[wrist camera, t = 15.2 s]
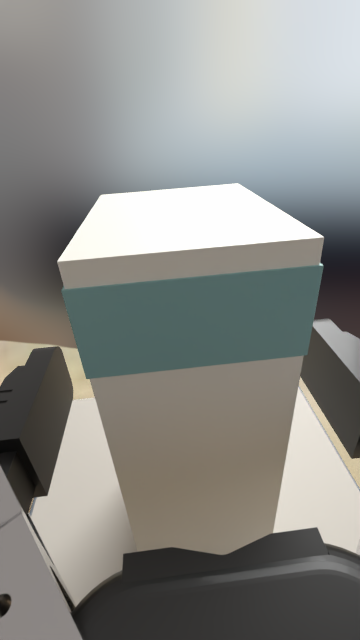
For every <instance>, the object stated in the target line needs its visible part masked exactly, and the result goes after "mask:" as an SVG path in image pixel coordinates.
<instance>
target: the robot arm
mask: <svg viewBox="0 0 360 640" xmlns="http://www.w3.org/2000/svg"><path fill="white" fill-rule="evenodd" d="M300 376H301V378H302V380H303V381H304V383H305V384H306V386H307V388H308V389H309V391H310V392H311V394H312V396H313V397H314V399H315V401H316V402H317V404H318V405H319V407H320V409H321V410H322V412H323V413H324V415H325V417H326V418H327V420H328V421H329V423H330V425H331V426H332V428H333V429H334V431H335V433H336V434H337V436H338V437H339V439H340V441H341V442H342V444H343V446H344V447H345V449H346V450H347V452H348V454H349V455H350V457H351V458H352V459H353V458H360V339H359V338H357V337H355V336H353V335H351V334H349V333H348V332H342V331H341V330H340V329H339V328H338V327H337V326H336V325H335V324H334V323H333V322H332V321H331V320H330V319H321V320H314V321H313V326H312V332H311V337H310V343H309V348H308V354H307V355H304V357H303V362H302V368H301V374H300ZM72 400H73V386H72V381H71V378H70V375H69V372H68V368H67V365H66V362H65V359H64V356H63V353H62V350H61V348H60V347H58V346H57V347H47V348H38V349H33V351H32V352H31V354H30V356H29V358H28V360H27V362H26V364H25V366H18V367H17V368H15V369H14V370H13V371H12V372H11V373H10V374H9V375H8V376H7V377H6V378H5V379H4V381H3V383H2V384H1V386H0V640H360V539H359V543H358V546H357V550H356V553H354V552H351V551H349V550H347V549H344V548H342V547H338V546H335V545H331V544H327V543H324V542H323V539H322V537H321V535H320V532H319V530H318V528H317V527H315V528H307V529H300V530H293V531H285V532H278V533H271V534H269V535H266V536H264V537H262V538H260V539H258V540H256V541H254V542H252V543H250V544H248V545H245V546H243V547H241V548H239V549H237V550H235V551H233V552H231V553H228V554H225V555H218V554H212V553H206V552H200V551H193V550H187V549H181V548H175V547H168V548H161V549H154V550H147V551H139V552H132V553H125V554H123V567H122V570H121V571H119V572H117V573H115V574H113V575H112V576H110V577H108V578H107V579H105V580H104V581H102V582H101V583H100V584H98V585H97V586H96V587H95V588H94V589H92V590H91V591H90V592H89V593H88V594H87V595H86V596H85V597H84V598H83V599H82V600H81V601H80V602H79V603H78V605H77V606H76V604H75V602H74V600H73V598H72V596H71V594H70V592H69V591H68V589H67V587H66V585H65V583H64V581H63V579H62V578H61V576H60V574H59V572H58V570H57V568H56V566H55V564H54V562H53V560H52V558H51V556H50V554H49V552H48V550H47V548H46V546H45V544H44V542H43V540H42V538H41V536H40V534H39V532H38V530H37V528H36V526H35V524H34V522H33V520H32V518H31V516H30V514H29V513H28V511H29V508H30V504H31V501H32V498H35V497H43V496H48V492H49V489H50V485H51V481H52V477H53V473H54V469H55V466H56V462H57V458H58V454H59V450H60V447H61V443H62V439H63V435H64V431H65V427H66V424H67V420H68V416H69V412H70V408H71V405H72Z"/></svg>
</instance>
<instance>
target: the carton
mask: <svg viewBox="0 0 360 640" xmlns="http://www.w3.org/2000/svg"><path fill="white" fill-rule="evenodd" d="M323 241H324V237H323V236H321V235H320V234H318V233H316V232H315V231H313V230H312V229H310V228H309V227H307V226H305V225H304V224H302V223H301V222H299V221H297V220H296V219H294V218H292V217H291V216H289V215H288V214H286V213H285V212H283V211H281V210H280V209H278V208H276V207H275V206H273V205H272V204H270V203H268V202H267V201H265V200H263V199H262V198H260V197H259V196H257V195H256V194H254V193H252V192H251V191H249V190H248V189H246V188H244V187H243V186H241V185H240V184H227V185H215V186H203V187H191V188H179V189H167V190H155V191H143V192H131V193H120V194H107V195H101V196H100V197H99V199H98V200H97V202H96V203H95V205H94V206H93V208H92V210H91V211H90V212H89V214H88V216H87V217H86V219H85V220H84V222H83V223H82V225H81V226H80V228H79V229H78V231H77V232H76V234H75V235H74V237H73V238H72V240H71V242H70V243H69V245H68V246H67V248H66V249H65V251H64V252H63V254H62V255H61V257H60V259H59V260H58V261H57V262H58V266H59V270H60V273H61V277H62V280H63V284H64V286H63V289H62V295H63V299H64V302H65V306H66V309H67V313H68V316H69V320H70V323H71V327H72V330H73V334H74V337H75V341H76V344H77V348H78V351H79V355H80V358H81V362H82V365H83V369H84V372H85V376H86V379H90V382H91V385H92V389H93V392H94V396H95V400H96V403H97V407H98V410H99V414H100V418H101V421H102V425H103V428H104V432H105V436H106V439H107V443H108V446H109V450H110V454H111V457H112V461H113V464H114V468H115V472H116V475H117V479H118V483H119V486H120V490H121V493H122V497H123V501H124V504H125V508H126V511H127V515H128V519H129V522H130V526H131V529H132V533H133V537H134V540H135V544H136V547H137V551H138V552H139V551H147V550H154V549H161V548H168V547H175V548H181V549H187V550H193V551H200V552H206V553H212V554H218V555H225V554H228V553H231V552H233V551H235V550H237V549H239V548H241V547H243V546H245V545H248V544H250V543H252V542H254V541H256V540H258V539H260V538H262V537H264V536H266V535H269V534H271V533H273V530H274V524H275V518H276V513H277V507H278V501H279V495H280V489H281V484H282V478H283V472H284V466H285V461H286V455H287V449H288V443H289V437H290V432H291V426H292V420H293V414H294V409H295V403H296V397H297V391H298V385H299V380H300V374H301V368H302V362H303V357H304V355H307V354H308V348H309V343H310V337H311V332H312V326H313V321H314V315H315V309H316V304H317V298H318V293H319V287H320V282H321V276H322V271H323V265H322V264H321V263H320V258H321V252H322V247H323Z"/></svg>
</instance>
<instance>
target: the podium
mask: <svg viewBox="0 0 360 640" xmlns="http://www.w3.org/2000/svg"><path fill="white" fill-rule="evenodd" d="M30 516H31V518H32V520H33V522H34V524H35V526H36V528H37V530H38V532H39V534H40V536H41V538H42V540H43V542H44V544H45V546H46V548H47V550H48V552H49V554H50V556H51V558H52V560H53V562H54V564H55V566H56V568H57V570H58V572H59V574H60V576H61V578H62V579H63V581H64V583H65V585H66V587H67V589H68V591H69V592H70V594H71V596H72V598H73V600H74V602H75V604H76V606H77V605H78V603H79V602H80V601H81V600H82V599H83V598H84V597H85V596H86V595H87V594H88V593H89V592H90V591H91V590H92V589H94V588H95V587H96V586H97V585H98V584H100V583H101V582H102V581H104V580H105V579H107V578H108V577H110V576H112V575H113V574H115V573H117V572H119V571H121V570H122V567H123V554H125V553H132V552H138V551H137V547H136V544H135V540H134V537H133V533H132V529H131V526H130V522H129V519H128V515H127V511H126V508H125V504H124V501H123V497H122V493H121V490H120V486H119V483H118V479H117V475H116V472H115V468H114V464H113V461H112V457H111V454H110V450H109V446H108V443H107V439H106V436H105V432H104V428H103V425H102V421H101V418H100V414H99V410H98V407H97V403H96V400H95V398H87V399H78V400H72V405H71V408H70V412H69V416H68V420H67V424H66V427H65V431H64V435H63V439H62V443H61V447H60V450H59V454H58V458H57V462H56V466H55V469H54V473H53V477H52V481H51V485H50V489H49V492H48V496H43V497H35V498H34V500H33V504H32V507H31V510H30ZM315 527H317V528H318V530H319V532H320V535H321V537H322V539H323V542H324V543H327V544H331V545H335V546H338V547H342V548H344V549H347V550H349V551H351V552H354V553H356V550H357V546H358V543H359V539H360V489H359V487H358V485H357V484H356V482H355V480H354V478H353V477H352V475H351V473H350V472H349V470H348V468H347V467H346V465H345V463H344V462H343V460H342V458H341V456H340V455H339V453H338V451H337V450H336V448H335V446H334V445H333V443H332V441H331V440H330V438H329V436H328V434H327V433H326V431H325V429H324V428H323V426H322V424H321V423H320V421H319V419H318V418H317V416H316V414H315V412H314V411H313V409H312V407H311V406H310V404H309V402H308V401H307V399H306V397H305V396H304V394H303V392H302V390H301V389H300V387H299V385H298V391H297V397H296V403H295V409H294V414H293V420H292V426H291V432H290V437H289V443H288V449H287V455H286V461H285V466H284V472H283V478H282V484H281V489H280V495H279V501H278V507H277V513H276V518H275V524H274V530H273V533H278V532H285V531H293V530H300V529H307V528H315Z"/></svg>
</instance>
